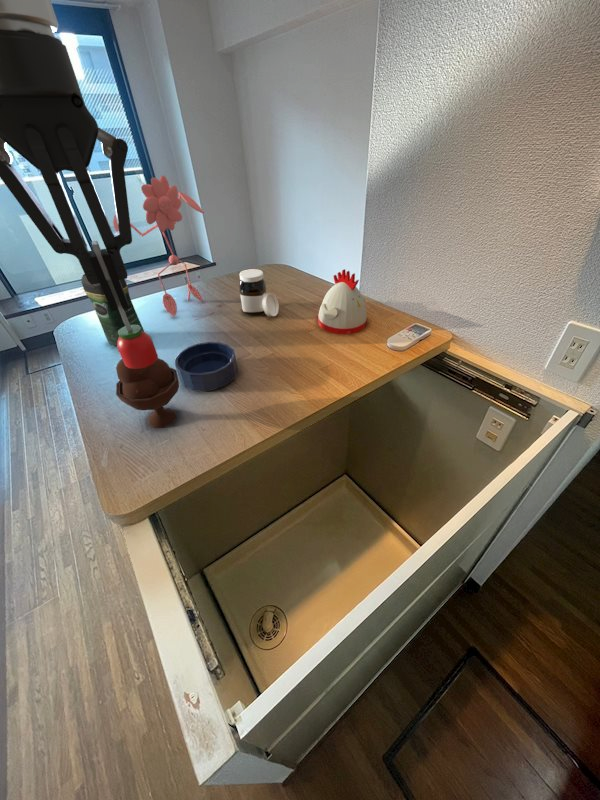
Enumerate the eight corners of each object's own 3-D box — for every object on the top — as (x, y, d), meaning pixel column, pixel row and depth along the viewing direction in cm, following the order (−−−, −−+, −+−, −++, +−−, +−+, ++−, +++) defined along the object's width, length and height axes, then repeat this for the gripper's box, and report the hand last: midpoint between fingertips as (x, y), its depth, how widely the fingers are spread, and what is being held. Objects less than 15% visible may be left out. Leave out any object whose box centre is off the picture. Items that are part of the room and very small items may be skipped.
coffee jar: (152, 338, 90) (128, 269, 78) (130, 352, 85) (100, 281, 72) (126, 331, 93) (99, 264, 81) (103, 344, 88) (71, 275, 75)
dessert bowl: (168, 382, 75) (162, 364, 71) (206, 354, 84) (202, 337, 80) (213, 399, 70) (209, 381, 67) (248, 367, 79) (246, 350, 75)
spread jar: (244, 304, 105) (239, 267, 98) (279, 303, 106) (277, 266, 98) (240, 321, 96) (235, 282, 89) (279, 320, 97) (276, 281, 89)
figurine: (141, 321, 97) (90, 181, 74) (204, 291, 114) (178, 169, 91) (176, 334, 91) (132, 187, 68) (237, 301, 107) (218, 172, 84)
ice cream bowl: (160, 446, 60) (131, 383, 50) (122, 424, 65) (89, 362, 55) (201, 412, 67) (183, 350, 57) (164, 394, 71) (141, 334, 62)
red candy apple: (126, 372, 45) (71, 251, 35) (123, 356, 48) (72, 240, 38) (160, 363, 47) (117, 245, 36) (155, 348, 50) (115, 235, 39)
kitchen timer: (343, 339, 88) (348, 284, 78) (308, 321, 96) (308, 270, 86) (375, 322, 95) (383, 270, 85) (340, 307, 103) (344, 258, 93)
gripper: (-120, 16, 22) (58, 330, 37) (103, 30, 26) (178, 305, 42) (-81, 35, 27) (61, 305, 42) (100, 44, 31) (168, 285, 47)
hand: (119, 305), depth 42 cm, fingers closed on red candy apple
